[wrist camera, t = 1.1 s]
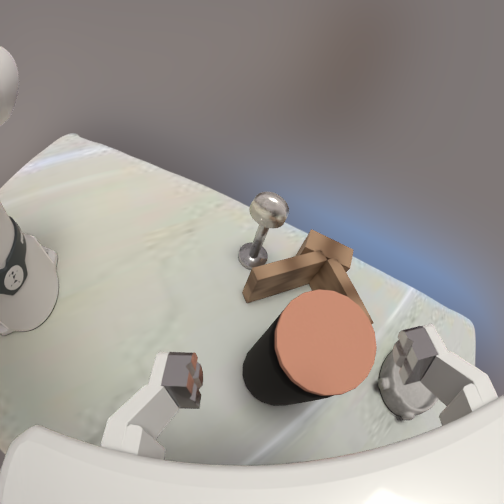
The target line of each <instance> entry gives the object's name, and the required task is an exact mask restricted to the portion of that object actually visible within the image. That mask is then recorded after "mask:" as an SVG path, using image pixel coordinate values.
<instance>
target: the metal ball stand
mask: <svg viewBox="0 0 504 504" xmlns="http://www.w3.org/2000/svg"><path fill="white" fill-rule="evenodd" d="M249 210H250V214H251V216H252V218H253V219H254V220H255V221H256V222H257V223H258V224H259V227H258V229H257V232H256V235H255V238H254V241H253V243H247V244H244V245H243V246H242V247H241V248H240V251H239V255H238V258H239V261H240V263H241V264H242V265H243V266H244V267H245V268H247V269H250V270H252V268H254V267H258V266H261V265H265V263H266V261H267V258H268V255H267V252H266V250H265V249H264V248H263V247H262V245H263V242H264V240H265V237H266V235H267V232H268V230H269V228H278V227H281V226H282V225H283V224H284V222H285V220H286V217H287V215H288V213H289V208H288V205H287V203H286V201H284V199H283V198H282V197H280V196H279V195H277V194H275V193H272V192H262V193H259V194H258V195H257V196H256V197H255V198H254V200H253V202H252V203H251V205H250V208H249Z"/></svg>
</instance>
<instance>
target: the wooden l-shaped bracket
mask: <svg viewBox="0 0 504 504" xmlns="http://www.w3.org/2000/svg"><path fill="white" fill-rule="evenodd" d="M352 255H353V249H351V248H349V247H347V246H345V245H343V244H340V243H339V242H337V241H335V240H332V239H330V238H328V237H326V236H324V235H322V234H320V233H318V232H316V231H314V230H311V231H310V232H309V234H308V236H307V237H306V239H305V241H304V243H303V244H302V246H301V248H300V249H299V251H298V253H297V254H296V256H295V257H292V258H288V259H284V260H280V261H277V262H273V263H269V264H265V265H261V266H258V267H254V268H252V270H251V272H250V275H249V277H248V280H247V282H246V285H245V287H244V289H243V292H242V293H243V295H244V298H245V300H246V303H249V302H253V301H256V300H259V299H263V298H266V297H269V296H272V295H275V294H278V293H282V292H285V291H288V290H291V289H294V288H297V287H300V286H303V285H306V284H309V285H310V287H311V289H312V291H314V290H318V289H320V290H330V291H335V292H338V293H340V294H342V295H345V296H347V297H349V298H350V299H351V300H352V301H354V302H355V303H356V304H358V305H359V306H360V307H361V309H362V310H363V311H364V313H365V314H366V315H367V317H368V318H369V320H370V322H371V324H373V321H372V319H371V317H370V315H369V313H368V312H367V310H366V308H365V306H364V304H363V302H362V300H361V299H360V297H359V295H358V293H357V291H356V289H355V288H354V286H353V284H352V282H351V281H350V279H349V277H348V275H347V273H346V272H347V271H348V270H349V269H350V265H351V260H352Z"/></svg>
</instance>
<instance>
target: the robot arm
mask: <svg viewBox="0 0 504 504" xmlns="http://www.w3.org/2000/svg"><path fill="white" fill-rule="evenodd" d="M18 89H19V74H18V69H17V65H16V62H15V61H14V58H13V57H12V55H11V54H10V53H9V52H8V51H7V50H6V49H4V48H3V47H1V46H0V126H1V125H2V124H3V123H4V122H6V121H7V120H8V119H9V118H10V116H11V114H12V111H13V109H14V106H15V103H16V99H17V95H18ZM57 259H58V255H57V253H56V252H55V251H54V250H52V249H49V248H47V247H45V246H42V245H40V243H39V242H38V241H37V239H36V238H35V237H34V236H33V235H32V236H30V235H28V234H25V233H22V231H21V229H20V227H19V226H18V224H17V223H15V221H14V220H13V219H12V218H11V217H10V216H8V214H7V213H6V211H5V209H4V207H3V205H2V204H1V202H0V323H1V324H0V334H2V335H7V334H9V333H11V332H13V331H29V330H32V329H34V328H36V327H38V326H39V325H40V324H42V323H43V322H44V321H45V320H46V319H47V317H48V316H49V315H50V313H51V311H52V309H53V307H54V305H55V303H56V300H57V295H58V287H59V285H58V277H57V272H56V265H57ZM398 338H399V340H398V341H397V342H396V343H395V345H394V348H393V358H394V362H395V364H396V365H397V366H398V367H400V371H399V375H400V377H401V380H402V383H403V385H407V384H411V383H415V382H418V381H420V382H421V383H422V384H423V385H424V386H425V387H426V388H427V389H428V390H429V391H431V392H432V393H433V394H434V395H435V396H436V397H437V398H438V399H439V400H440V401H441V402H443V403H444V404H445V405H446V406H447V407H446V408H445V409H444V410H443V411H442V412H441V413H440V415H439V418H440V421H441V424H442V426H440V427H438V428H436V429H433V430H431V431H428V432H425V433H423V434H420V435H417V436H414V437H411V438H408V439H405V440H402V441H399V442H396V443H393V444H389V445H386V446H382V447H378V448H375V449H371V450H367V451H362V452H358V453H353V454H349V455H344V456H338V457H333V458H327V459H320V460H313V461H306V462H297V463H286V464H272V465H210V464H196V463H185V462H177V461H169V460H164V458H165V450H166V449H165V448H164V447H163V446H162V445H161V444H160V443H159V442H157V441H156V440H155V439H156V438H157V437H158V436H159V434H160V433H161V432H162V431H163V430H164V428H165V427H166V426H167V425H168V423H169V422H170V421H171V420H172V418H173V417H174V416H175V415H176V413H177V412H178V411H179V408H189V409H199V408H200V400H201V394H200V392H199V389H200V387H201V386H202V384H203V371H202V367H201V365H200V364H199V363H198V362H197V358H198V357H197V355H196V353H185V352H158V353H157V354H156V357H155V360H154V364H153V367H152V371H151V375H150V378H149V382H148V385H144V386H143V387H142V388H141V389H140V390H139V391H137V392H136V393H135V394H134V395H133V396H132V397H131V398H130V399H129V400H128V401H127V402H126V403H125V404H124V405H122V406H121V407H120V408H119V409H118V410H117V411H116V412H115V413H114V414H113V415H112V416H111V417H110V418H108V420H107V424H106V427H105V431H104V434H103V438H102V442H101V446H97V445H94V444H90V443H87V442H84V441H81V440H78V439H75V438H72V437H69V436H66V435H63V434H61V433H58V432H56V431H53V430H51V429H48V428H46V427H43V426H40V425H34V426H32V427H30V428H28V429H27V430H25V431H24V432H23V433H21V434H20V435H19V436H17V437H16V438H15V439H14V440H13V441H12V443H11V445H10V446H9V448H8V450H7V453H6V456H5V458H4V461H3V464H2V467H1V470H0V504H504V395H502V396H500V397H499V398H498V396H497V394H496V392H495V390H494V387H493V385H492V383H491V381H490V379H489V377H488V375H487V374H485V373H484V372H482V371H481V370H479V369H478V368H476V367H475V366H473V365H472V364H470V363H469V362H467V361H466V360H464V359H463V358H461V357H459V356H458V355H456V354H455V353H453V352H452V351H449V352H448V350H447V348H446V346H445V344H444V343H443V341H442V339H441V337H440V335H439V334H438V332H437V330H436V328H435V327H434V325H433V324H428V325H424V326H418V327H414V328H410V329H406V330H402V331H400V332H399V335H398Z"/></svg>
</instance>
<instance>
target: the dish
mask: <svg viewBox="0 0 504 504" xmlns="http://www.w3.org/2000/svg"><path fill="white" fill-rule="evenodd" d="M399 371H400V367H398V366H397V365H396V364H395V362H394V358H393V350H392V351H391V353H390V354H389V355H388V356H387V358H386V359H385V361H384V363H383V366H382V369H381V372H380V379H379V381H378V386H379V388H380V391H381V395H382V397H383V400H384V402H385V403H386V405H387V406H388V408H389V409H390V410H391V411H392V412H393V413H395V414H397V415H399V416H402V417H401V418H402V419H404V420H412V419H413V418H414V415H418V414H421V413H423V412H425V411H427V410H429V409H430V408H431V407H432V406H433V405H434V404H435V403H436V402H437V400H438V398H437V397H436V396H435V395H434V394H433V393H432V392H431V391H429V390H428V389H427V388H426V387H425V386H424V385H423V384H422V383H421V382H420V381H418V382H415V383H411V384H407V385H403V383H402V380H401V377H400V375H399Z"/></svg>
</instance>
